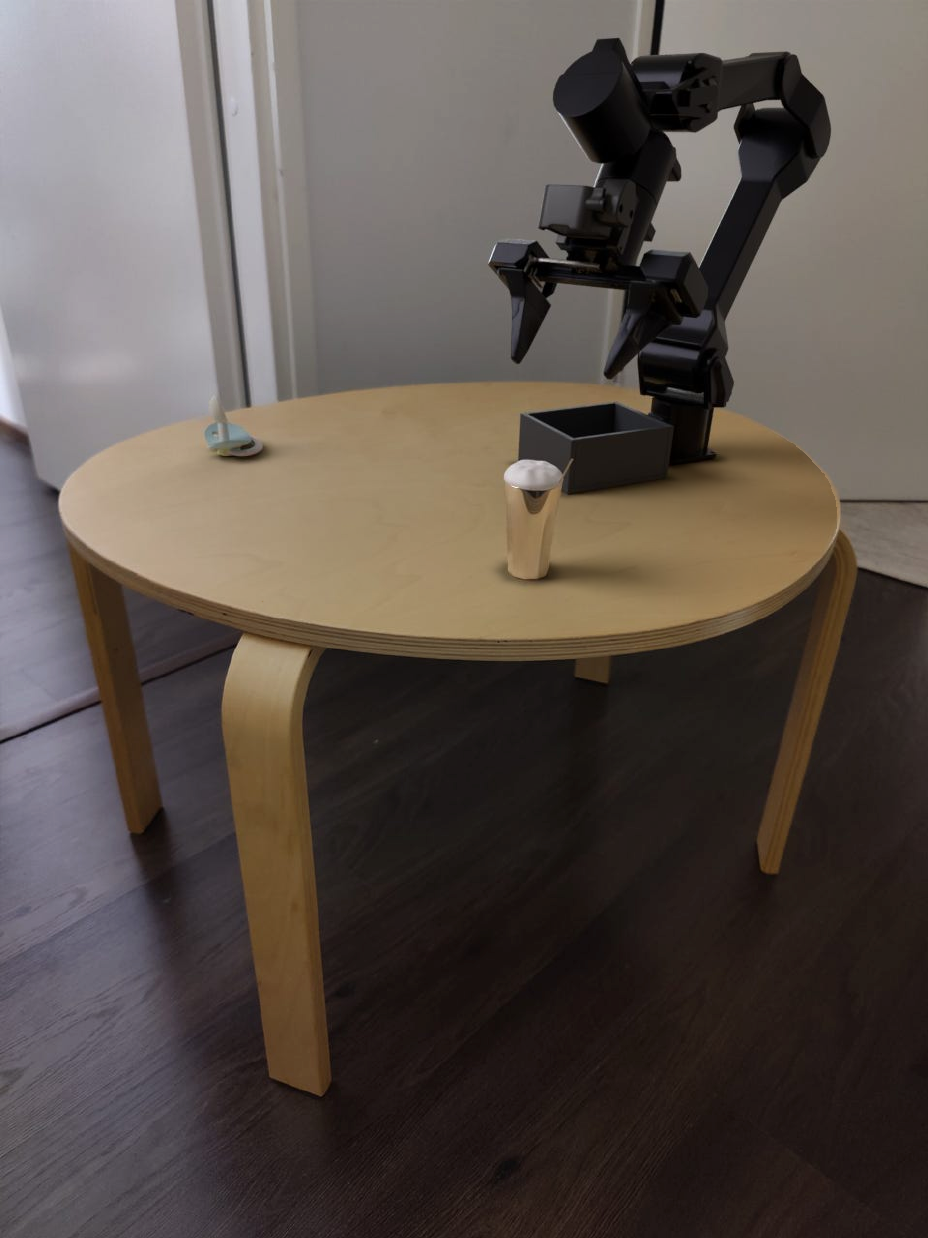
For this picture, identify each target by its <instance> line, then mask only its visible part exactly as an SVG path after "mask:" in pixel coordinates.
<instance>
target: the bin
mask: <svg viewBox="0 0 928 1238" xmlns="http://www.w3.org/2000/svg"><path fill="white" fill-rule="evenodd" d="M673 430H674V426H672V425H670V424H667V423H665V422H663V421H660V420H658V419H656V418H654V417H651V416H649V415H648V413H644V412H642V411H640V410H637V409H635V408H633V407H630V406H629V405H626V404H623V403H621V402H619V401H609V402H602V403H593V404H586V405H576V406H567V407H561V408H552V409H544V410H535V411H527V412H520V415H519V433H518V434H519V435H518V436H519V437H518V455H517V462H518V461H520V460H535V461H546V462H548V463H550V464H552V465H553V466H555V467H557V468H558V469H559V470H560V471H561V473H562V475H563V473H564V471H565V469H566V468H567V466H568V464H569V462H570V460H572V459H573V460H572V462H571V464H570V466H569V468H568V470H567V472H566V474H565V476H564V477H563V483H562V489H561V492H563V493H565V495H572V494H578V493H584V492H590V491H597V490H601V489H607V488H615V487H620V486H625V485H632V484H638V483H645V482H649V481H656V480H662V479H667V478H668V472H669V466H670V464H669V459H670V452H671V444H672V437H673Z"/></svg>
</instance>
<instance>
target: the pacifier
mask: <svg viewBox="0 0 928 1238" xmlns="http://www.w3.org/2000/svg"><path fill="white" fill-rule="evenodd" d="M208 410H209V413H210V415H211V417H212V419H213V420H214V421H215V422H213V423H211V424H209V425H208V426H207V427H206V428H205V430H204V433H203V436H204V439H205V441H206V443H207V444H209V445H207V449H211V450H216V451H217V454H218V455H220V456H224V457H229V456H236V457H247V456H253V455H257V454H258V453H260V452H261V451H262V449H263V442H261V440H260V439H258V438H257V437H254V436H251V435H250V434H249V432H248V431H247V430H246V429H245V428H243V427H242V426H240V425H239V424H236V423H232V422H230V421H228V416H227V414H226V411H225V408H224V406H223V403H222V402H221V399H220V398H219V396H218V395H217V394H215V395H213V396H211V398H210V400H209V402H208ZM213 435H216V436H213ZM248 444H250V445H252V446H251V447H250V448H246V449H242V448H241V447H243V446H245V445H248Z"/></svg>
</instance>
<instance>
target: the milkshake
mask: <svg viewBox="0 0 928 1238" xmlns="http://www.w3.org/2000/svg"><path fill="white" fill-rule="evenodd" d="M572 460H573V459H572ZM572 460H570V462H569V464H568V466H567V468H566V469H565V471H564V473H563V475H562V473H561V471H560V470H559V469H558V468H557V467H555V466H553V465H552V464H550V463H548V462H546V461H535V460H520V461H518V460H517V461H516V462H514V463H512V464H511V465H510V466H509V467H507V469H506V471H505V472H504V473H503V487H504V501H505V525H506V554H507V571H508V572H509V573H510V575H511V576H512V577H515V578H518V579H522V580H539V579H541V578H543V577H546V576H547V574H548V571H549V566H550V560H551V555H552V549H553V548H552V547H553V542H554V541H553V540H554V535H555V527H556V521H557V515H558V509H559V505H560V499H561V494H562V491H561V489H562V483H563V477H564V476H565V474H566V472H567V470H568V468H569V466H570V464H571V462H572Z"/></svg>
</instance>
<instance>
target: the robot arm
mask: <svg viewBox="0 0 928 1238" xmlns="http://www.w3.org/2000/svg"><path fill="white" fill-rule="evenodd" d="M592 47H593V48H592V49H591V51H589V52H587V53H586V54H584V55H581V56H580V57H579V58H578V59H576V60H574V61H573V62H572V64H570V66H568V67H567V69H566V70H565V71H564V73H563V74H560V75H559V77H558V78H557V80H556V82H555V85H554V88H553V91H552V104H553V107H554V108H555V110H556V111H557V114H558V115H559V116H560V118H561V119H562V121H563V122H564V124H565V126H566V127H567V129H568V130H569V132H570V134H571V135H572V137H573V138H574V140H575V141H576V143H577V144H578V146H579V148H580V149H581V151H582V152H583V154H584V155H585V157H586V158H587V159H588V160H589V161H591V162H593V163H595V164H600V165H601V166H600V168H599V171H598V174H597V176H596V179H595V182H594V184H593V186H590V185H583V184H582V185H581V184H578V185H577V184H546V185H544V190H543V195H542V202H541V208H540V211H539V212H540V213H539V219H538V224H537V228H538V229H539V230H540V231H546V230H547V231H550V232H552V233H554V234H556V235H557V236H556V240H555V244H556V245H557V247H558V248H559V250H560V251H565V252H566V253H567V255H566V258H565V259H563V258H562V259H560V258H550V256H549V255H548V254H547V252H546V251H545V249H544V248H543V247H542V245H541V244H540V243H539V241H538V240H532V239H531V240H530V239H519V238H504V239H501V240H499V241H497V242H496V244H495V245H494V247H493V250H492V252H491V255H490V258H489V260H488V263H487V266H488V267H489V268H490V269H491V270H492V271H493V272H494V274H495V275H496V277H498V279H499V280H500V281H501V282H502V284H503V285H504V286H505V287H506V288H507V289H508V291H509V296H510V305H511V333H510V335H511V338H510V339H511V340H510V360H511V361H512V362H513V363H514V364H516V365H520V364H521V363H522V361H523V360H524V359H525V356H526V355H527V354H528V352H529V350H530V348H531V346H532V344H533V342H534V341H535V338H536V336H537V335H538V332H539V330H540V329H541V327H542V325H543V323H544V320H545V319H546V317H547V315H548V313H549V311H550V310H551V306H552V304H551V303H550V302H549V300H548V298H549V297H551V296H552V295H553V294H554V293H555V290H556V288H557V286H558V284H562V285H571V286H581V287H591V288H600V289H610V290H619V291H628V300H627V309H626V312H625V314H624V316H623V318H622V321H621V324H620V326H619V328H618V331H617V334H616V336H615V338H614V340H613V343H612V345H611V348H610V350H609V353H608V356H607V359H606V362H605V366H604V368H603V376H604V377H605V378H606V380H612V379H614V378H615V377H616V376H617V375H618V374H619V373H620V372H621V371H622V370H623V369H624V368H625V367H627V365H628V364H629V363H630V362H631V361H632V360H633V359H634V358H635V357H636V356H637V358H636V361H637V362H636V363H637V364H636V365H637V375H638V389H639V395H640V396H643V397H647V396H648V397H652V398H651V404H650V405H651V406H650V411H649V412H648V413H647V415H649V416H651V417H654V418H656V419H658V420H660V421H663V422H665V423H667V424H670V425H672V426H674V430H673V437H672V444H671V452H670V459H669V465H670V464H671V465H677V464H683V463H689V462H694V461H700V460H707V459H713V458H714V459H715V458H717V456H718V455H717V454H718V452H717V451H715V450H713V449H710V448H709V443H710V436H711V431H712V423H713V417H714V412H715V408H716V409H717V408H719V409H722V408H726V407H727V403H729V401H730V399H731V396H732V394H733V390H734V389H733V388H734V386H735V381H734V378H733V374H732V372H731V369H730V367H729V364H728V362H727V359H726V356H727V355H728V351H729V341H728V334H727V328H726V321H727V318H728V315H729V313H730V311H731V309H732V307H733V304H734V302H735V301H736V299H737V296H738V294H739V291H740V290H741V287H742V286H743V283H744V281H745V279H746V277H747V275H748V274H749V271H750V269H751V267H752V264H753V263H754V260H755V259H756V256H757V254H758V253H759V252H758V251H759V249H760V247H761V245H762V243H763V242H764V239H765V236H766V235H767V232H768V230H769V228H770V226H771V225H772V222H773V220H774V218H775V216H776V213H777V211H778V209H779V207H780V205H781V204H782V201H784V200H785V198H787V197H788V196H790V195H791V194H792V193H794V192H795V191H796V190H798V189H800V188H801V187H802V186H803V185H805V184H806V183H807V182H808V181H809V179H810V178H811V176H812V174H813V173H814V171H815V170H816V168H817V166H818V164H819V163H820V160H821V159H822V158H823V157H824V156H825V155H826V153H827V151H828V148H829V146H830V142H831V138H832V137H831V136H832V124H831V119H830V115H829V110H828V106H827V102H826V98H825V95H824V94H823V93H822V92H821V91H820V90H819V89H818V88H817V87H816V86H815V85H814V84H813V83H812V82H811V81H810V80H809V79H808V78H807V77H806V76H805V75H804V74H803V71H802V67H801V64H800V60H799V58H798V56H797V55H796V54H795V53H791V52H790V51H785V50H784V51H765V52H752V53H750V54H749V55H745V56H743V57H737V58H729V59H722V58H721V57H720V56H716V55H712V54H708V53H705V52H691V53H690V52H689V53H669V54H667V53H666V54H648V55H647V54H646V55H639V56H638V57H635V58H633V60H632V61H631V62H630V60H629V58H628V54H627V51H626V48H625V46H624V43H623V42H622V40H621V38H620V37H606V38H597V39H596V41H595V43H594V45H593V46H592ZM766 101H780V102H781V107H760V108H757V109H756V107H755V103H760V102H766ZM737 107H738V108H739V107H740V108H739V110H738V113H737V115H736V117H735V121H734V122H733V123H734V124H733V127H732V129H733V131H734V134H735V137H736V140H737V141H738V142H737V143H738V148H737V151H736V153H737V160H738V167H739V173H740V178H739V181H738V183H737V185H736V188H735V189H734V192H733V193H732V196H731V198H730V200H729V202H728V203H727V206H726V208H725V210H724V212H723V215H722V217H721V219H720V221H719V223H718V226H717V227H716V230H715V231H714V234H713V236H712V238H711V239H710V242H709V245H708V247H707V248H706V251H705V253H704V255H703V257H702V259H701V261H700V263H699V265H698V263H697V261H696V260H695V258H694V256H693V254H692V253H691V251H677V250H665V249H650V250H648V251H646V252H644V253H643V254H642V258H641V259H640V263H639V265H636V263H637V261H638V258H639V256H640V253H641V250H642V248H643V245H644V243H645V242H647V243H652V242H653V240H654V238H655V235H656V231H657V230H656V229H655V227H654V225H653V223H652V221H653V219H654V217H655V215H656V211H657V208H658V206H659V204H660V200H661V198H662V195H663V193H664V190H665V187H666V185H667V183H668V182H670V183H671V182H677V183H678V182H680V181H681V179H682V165H681V163H680V162H679V160H678V157H677V149H676V147H675V146H674V145H673V143H672V141H671V140H670V137H669V136H668V135H667V134H666V133H670V134H671V133H674V134H675V133H678V134H679V133H680V134H681V133H684V134H685V133H687V134H688V133H691V134H694V133H698V132H700V131H702V130H703V129H706V127H708V126H710V125H711V124H713V123H714V122H716V121H717V120H718V116H719V113H720V112H721V111H724V110H727V109H732V108H737Z"/></svg>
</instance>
